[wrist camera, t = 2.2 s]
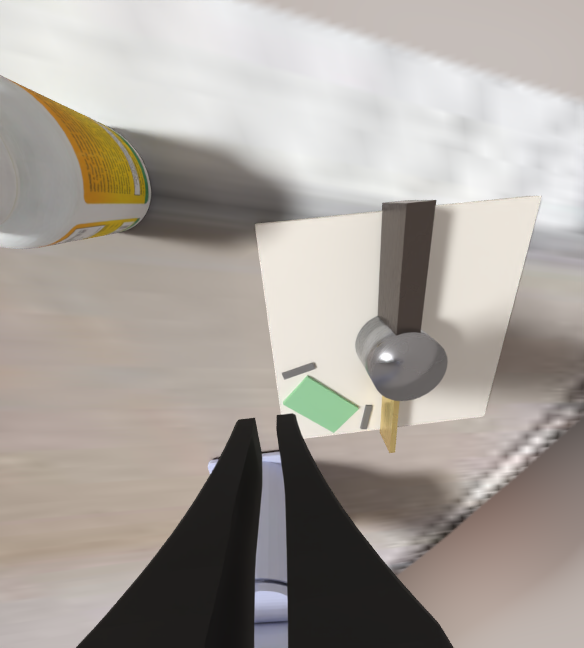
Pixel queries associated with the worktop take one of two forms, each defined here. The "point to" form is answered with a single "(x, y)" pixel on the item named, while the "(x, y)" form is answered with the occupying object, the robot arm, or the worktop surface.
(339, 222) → the board
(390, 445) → the dial pointer
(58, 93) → the worktop surface
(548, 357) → the worktop surface
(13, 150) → the supplement bottle
